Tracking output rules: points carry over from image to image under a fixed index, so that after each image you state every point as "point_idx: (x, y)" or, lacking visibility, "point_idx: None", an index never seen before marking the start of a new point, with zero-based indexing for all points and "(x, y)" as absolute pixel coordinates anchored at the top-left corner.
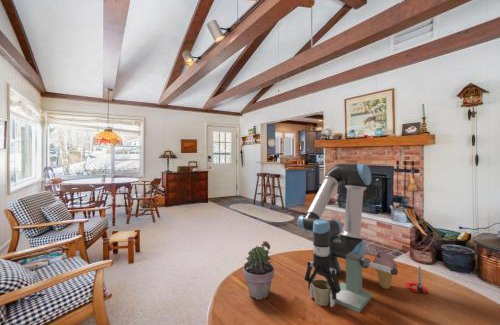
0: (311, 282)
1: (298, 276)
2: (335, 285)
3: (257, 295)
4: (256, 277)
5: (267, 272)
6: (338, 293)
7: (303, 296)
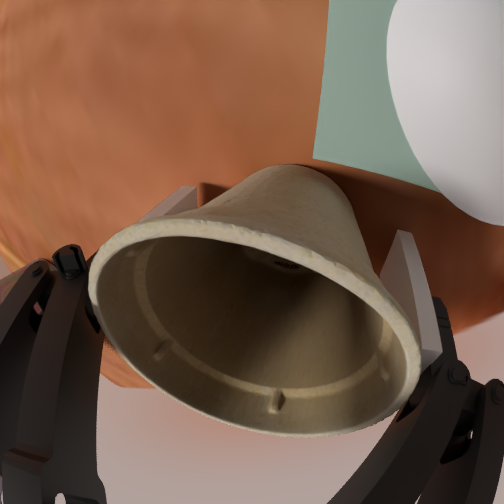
0: None
1: (25, 38)
2: (435, 493)
3: None
4: None
5: None
6: (427, 56)
7: None
